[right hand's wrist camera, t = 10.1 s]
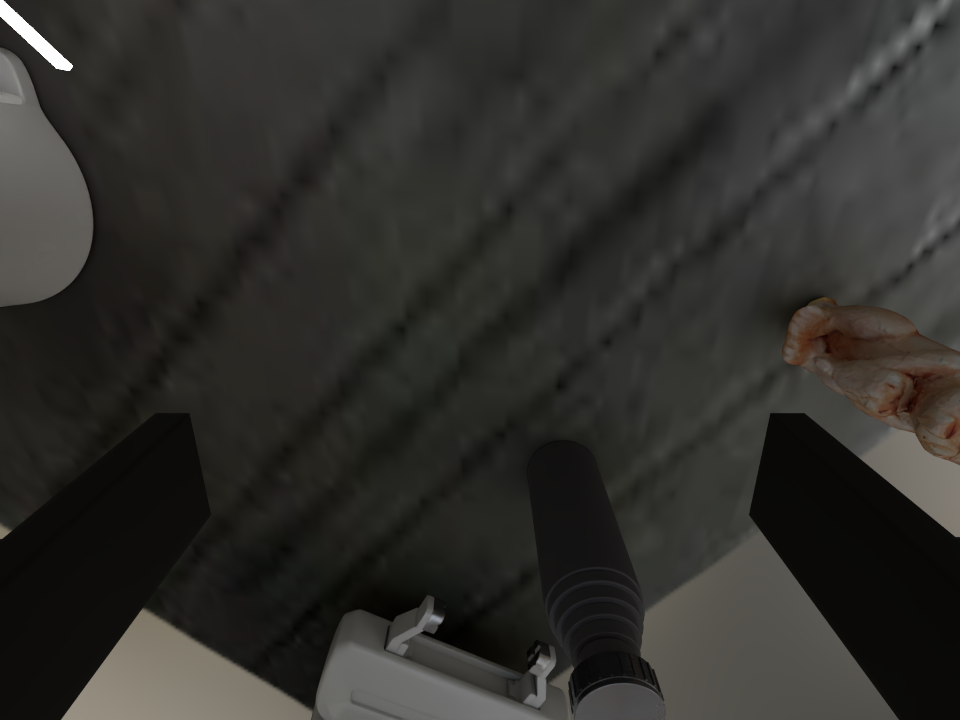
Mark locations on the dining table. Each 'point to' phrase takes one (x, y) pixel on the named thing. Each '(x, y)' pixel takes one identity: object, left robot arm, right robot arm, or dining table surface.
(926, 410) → the figurine
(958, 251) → the dining table surface
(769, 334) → the dining table surface
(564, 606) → the bottle
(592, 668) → the cap
